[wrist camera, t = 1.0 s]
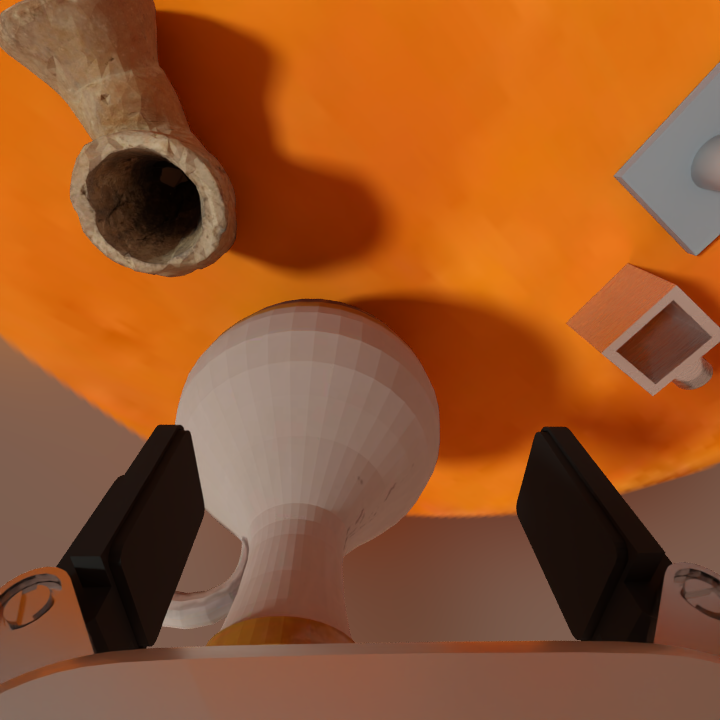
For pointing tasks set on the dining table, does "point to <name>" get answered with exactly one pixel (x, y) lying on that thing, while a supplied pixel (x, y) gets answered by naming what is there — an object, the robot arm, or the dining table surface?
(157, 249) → the pipe
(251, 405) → the jug
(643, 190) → the flange
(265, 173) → the dining table surface
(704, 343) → the collar
